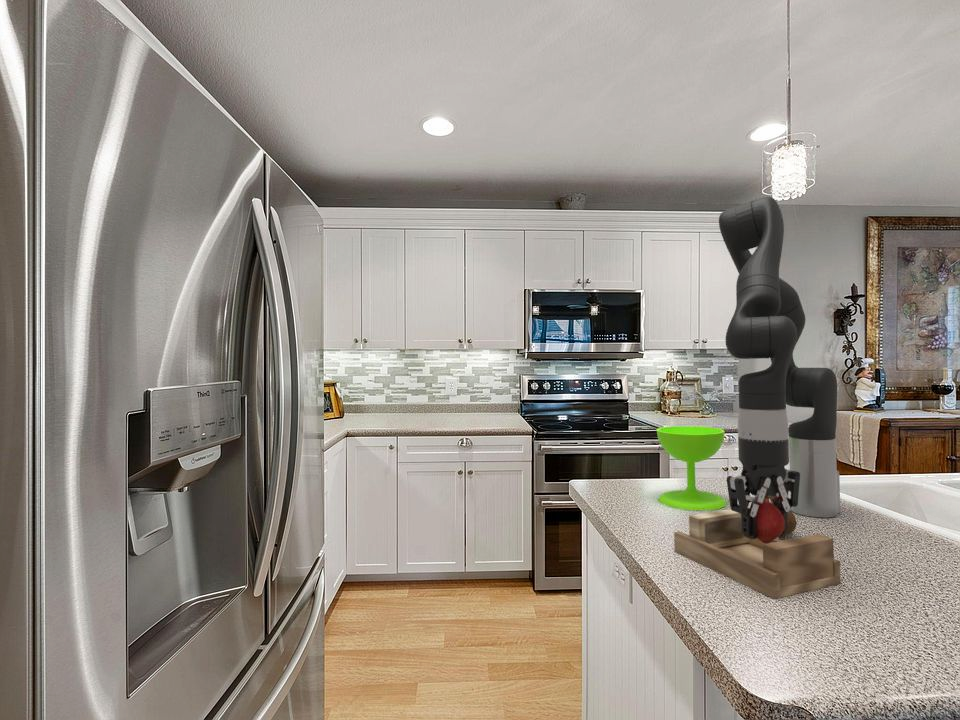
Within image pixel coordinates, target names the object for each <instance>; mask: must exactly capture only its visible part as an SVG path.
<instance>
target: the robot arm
mask: <svg viewBox="0 0 960 720" xmlns="http://www.w3.org/2000/svg"><path fill="white" fill-rule="evenodd" d="M784 224H785V223H784V219H783V214H782V210H781V208H780V206H779V204H778V202H777V200H776V199H775V198H773V197H771V196H763V197H759V198H756V199H755V198H754V199H753V200H751V201H747V202H744V203H742V204H739V205H736V206H733V207H731V208H728V209H725V210H724V211H722V212H721V213H720V215H719V217H718V225H719V230H720V234H721V237H722V240H723V242H724V245H725V246H726V250H727V251H728V253H729V255H730V257H731V259H732V262H733V264H734V266H735V268H736V270H737V272H738V276H737V278H736V285H735V287H736V290H735V293H736V304H735V305H736V306H735V310H734V313H733V315H732V316H731V317H732V318H731V320H730V321H729V325H728V327H727V329H726V334H725V346H726V347H725V348H726V349H727V351H728V353H729V354H730V355H731V356H733V358H736V359H742V360H743V359H744V360H746V359H747V360H749V359H750V360H752V359H753V360H754V359H770V362H771V364H770V366H769V367H767V368H766V369H763V370H759V371H754V372H749V373H744V374H743V375H741V376H740V377H739V379H738V417H737V439H738V440H737V442H738V443H737V444H738V445H737V446H738V447H737V448H738V461H739V462H740V463H741V465H742V470H741V472H740V475H739V474H738V475H737V476H732V475H727V477H726V485H727V492H728V498H729V499H728V500H729V507H730V509H731V510H732V511H735V512H738V513H740V514H741V517H742V533H743V534H744V536H745V537H747V538H750V539H756V538H757V517H755V516H756V513H757V510H758V507H759V505H761V504H762V503H763V500H764V497H767V496H768V497H769V502H770V503H772V504H773V505H774V506H776V507H777V508H778V509H779V510H780V512H781V513H782V515H783V517H784V520H785V528H784V531H783V533H782V534H786V533H787V528H788V524H787V523H788V518H787V512H788V511H789V510H790V511H791V512H792V513H795V514H799V515H801V516H807V517H813V518H833V517H836V516H838V515H839V513H841V489H840V487H841V485H840V479H841V478H840V471H839V470H837V466H838V465H837V441H836V440H837V439H836V438H837V437H836V430H837V424H838V423H837V421H838V420H837V419H838V418H837V417H838V414H837V411H838V410H837V409H838V408H837V407H838V381H837V376H836V374H835V372H834V371H833V370H832V369H831V368H828V367H798V366H797V365H796V363H795V361H794V355H793V354H794V350H795V348H796V345H797V343H799V342H798V341H799V340H800V338H801V336H802V333H803V331H804V328H805V325H806V321H807V320H806V314H805V312H804V309H803V306H802V302H801V300H800V297H799V294H798V292H797V291H796V289H795V288H794V287H793V286H792V285H790V284H789V283H788V282H787V281H785V280H784V279H782V278H780V265H781V260H782V253H783V251H782V250H783V242H784V234H785V225H784ZM754 248H756V249H755V250H754V251H753V253H751V251H750V249H751V250H752V249H754ZM787 406H789V407H795V408H809V409H813V413H812V415H811V416H809V418H807V419H804V420H801V421H796V422H792V423H791V424H789V420H788V414H787ZM788 465H789V469H787V468H785V466H788ZM750 494H751V495H752V496H751V495H750ZM789 496H790V497H789ZM749 505H750V506H749Z"/></svg>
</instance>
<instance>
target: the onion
mask: <svg viewBox="0 0 960 720" xmlns="http://www.w3.org/2000/svg"><path fill="white" fill-rule="evenodd" d="M755 517H757V538H758V539H759V540H760V541H762V542H763V543H765V544H768V543H770V542H771V541H773V540H774V539H776V538H777V539H779V536H780V535H781V534H782V533H783V531H784V528H785V520H784V517H783V515H782V513H781V512H780V510H779V509H778V508H777V507H776V506H774V505H773V504H772V503H771V501H770V499H769V497H768V496H767V497H764V500H763V503H762V504H761V505H759V507H758V510H757V513H756V516H755Z"/></svg>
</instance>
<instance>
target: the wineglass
mask: <svg viewBox="0 0 960 720" xmlns="http://www.w3.org/2000/svg"><path fill="white" fill-rule="evenodd" d="M725 433H726V432H725V430H724V429H721V428H716V427H711V426H710V427H708V426H695V425H693V426H692V425H691V426H689V425H685V426H684V425H683V426H682V425H680V426H679V425H678V426H676V425H675V426H665V427H659V428H657V429H656V434H657V439H658V441H659V444H660V446H661V447H662V448H663V449H664V451H665V452H666V453H667V455H670V456H671V457H673V458H674V459H676V460H679V461H681V462H685V463H686V479H687V480H686V481H687V482H686V483H687V484H686V485H687V487H686V488H685V489H683V490H671V491H667V492H666V491H665V492H664V493H662V494H661V495H660V496H659V497H658V502H659V501H660V502H661V503H660V502H659V503H660V504H662V503H663V504H662V505H664V504H665V505H664V506H666V505H667V506H666V507H669V506H670V507H669V508H673V507H674V508H673V509H678V508H679V510H684V509H685V510H686V511H687V510H688V511H696V510H707V511H714V510H715V509H717V510H720V508H721V509H723V508H722V507H724V506H725V507H727V505H726V504H727V501H726V500H725V498H723V497H722V496H720V495H717V494H714V493H712V492H707V491H701V490H698V489H697V487H696V463H699V462H703V461H707V460H708V459H710V458H711V457H713V456H715V454H717V453H718V451H719V450H720V449H721V446H722V445H723V442H724V439H725ZM725 507H724V508H725ZM715 511H716V510H715Z"/></svg>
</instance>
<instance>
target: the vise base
mask: <svg viewBox="0 0 960 720" xmlns="http://www.w3.org/2000/svg"><path fill="white" fill-rule="evenodd" d="M673 535H674V536H673V538H674V539H673V541H674V544H673V545H674V552H675V553H677V554H679V555H682V556H685V557H686V558H687V559H690V560H693V561H695V562H697V563H699V564H701V565H703V566H705V567H707V568H709V569H712V570H713V571H715V572H718V573H720V574H722V575H723V576H725V577H727V578H730V579H732V580H734V581H736V582H738V583H740V584H742V585H744V586H746V587H748V588H750V587H751V588H750V589H753V590H755V591H757V592H759V593H760V594H763V595H765V596H767V597H770V598H771V599H773V600H775V599H780V598H784V597H787V596H793V595H797V594H801V593H806V592H809V591H815V590H818V589H822V588H826V587H831V586H835V585H839V584H841V560H839V559H836V558H835V553H834V551H835V550H834V537H829V536H826V535H824V534H820V533H816V534H812V535H806V536H799V537H795V538H790V539H785V540H782V539H779V538H776V539H774V540H773V541H771V542H770V543H768V544H765V543H763V542H762V541H760V540H759V539H758V538H756V539H750V538H749V542H748V543H742V544H737V545H731V546H726V547H720V548H718V547H715V546H713V545H711V544H708V543H706V542H704V541H701V540H699V539H696V538H694V537H692V536H690V535H689V534H687V533H684V532H682V531H681V530H679V531H678V530H677V531H673Z"/></svg>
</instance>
